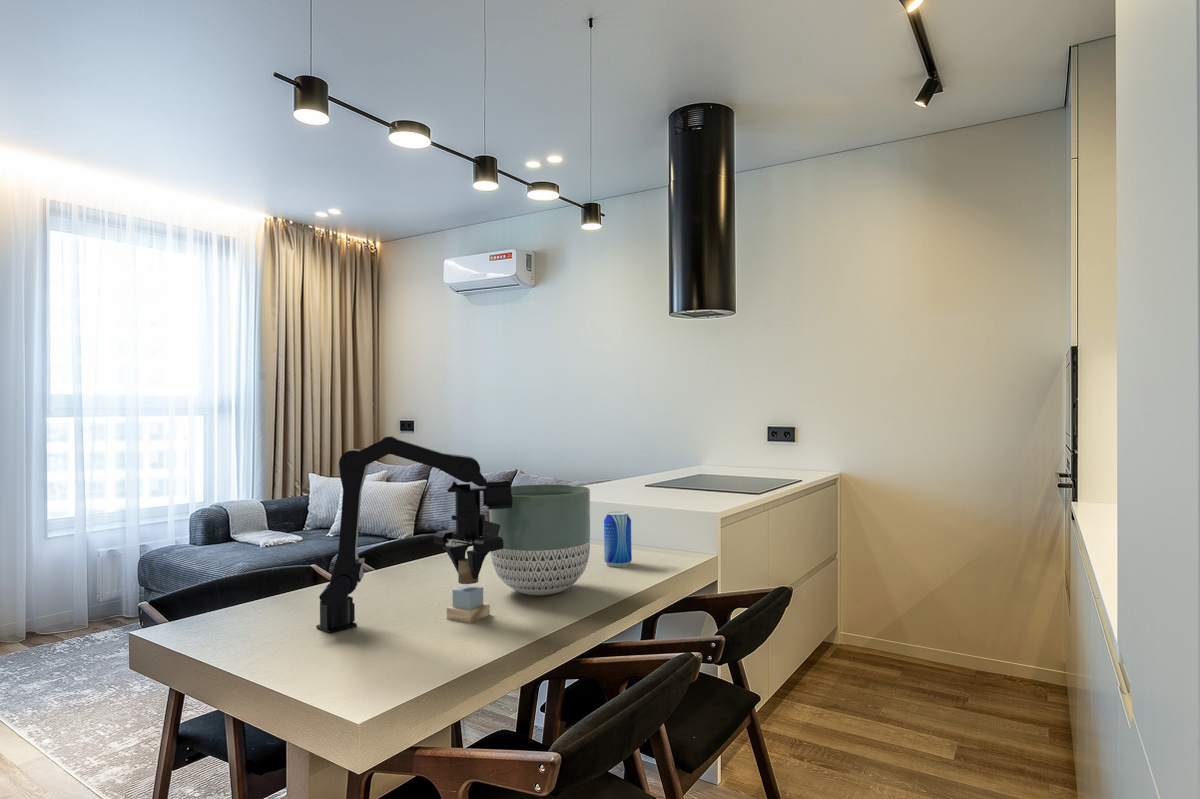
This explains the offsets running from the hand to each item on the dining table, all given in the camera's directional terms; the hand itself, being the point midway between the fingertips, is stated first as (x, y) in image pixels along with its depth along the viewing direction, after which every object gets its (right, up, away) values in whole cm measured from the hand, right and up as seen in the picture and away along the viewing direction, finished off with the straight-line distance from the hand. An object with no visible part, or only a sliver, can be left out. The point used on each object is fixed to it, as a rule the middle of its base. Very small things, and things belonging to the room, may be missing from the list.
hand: (468, 577), depth 159 cm
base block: (0, -10, 0) cm, 10 cm away
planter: (+15, -10, +21) cm, 28 cm away
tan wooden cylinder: (0, -1, 0) cm, 1 cm away
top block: (0, -7, 0) cm, 7 cm away
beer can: (+36, -10, +52) cm, 64 cm away
